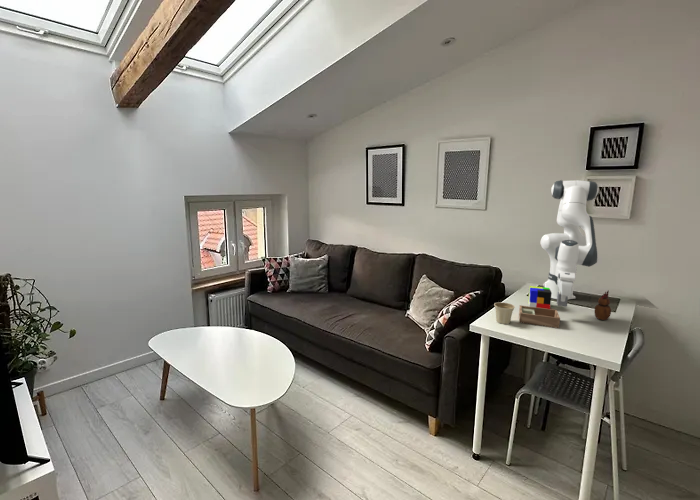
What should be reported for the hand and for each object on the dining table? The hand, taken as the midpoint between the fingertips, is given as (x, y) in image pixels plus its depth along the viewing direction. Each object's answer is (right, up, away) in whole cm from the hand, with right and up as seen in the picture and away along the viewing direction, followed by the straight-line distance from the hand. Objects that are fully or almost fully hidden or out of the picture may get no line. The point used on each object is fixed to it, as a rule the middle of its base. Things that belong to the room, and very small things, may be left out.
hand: (562, 299), depth 182 cm
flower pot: (-31, -11, -3) cm, 33 cm away
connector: (0, -3, +1) cm, 3 cm away
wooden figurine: (+21, -10, +2) cm, 24 cm away
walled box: (-13, -11, -1) cm, 17 cm away
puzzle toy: (-1, -7, +21) cm, 22 cm away
